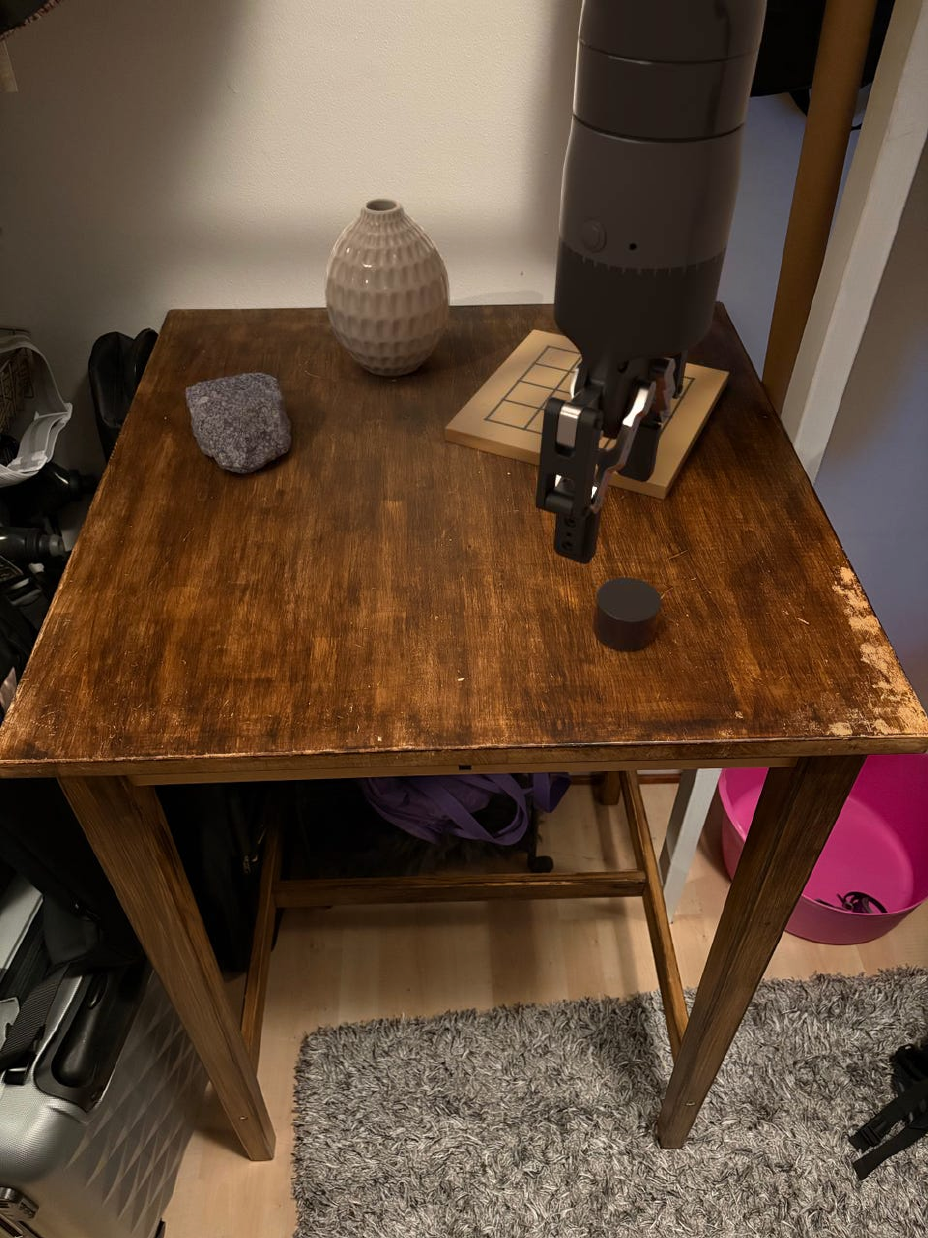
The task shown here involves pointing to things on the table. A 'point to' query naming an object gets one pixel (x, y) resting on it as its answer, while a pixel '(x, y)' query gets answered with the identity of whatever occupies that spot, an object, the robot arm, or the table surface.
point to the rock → (240, 420)
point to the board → (544, 369)
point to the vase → (387, 290)
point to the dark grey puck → (626, 614)
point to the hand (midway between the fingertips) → (605, 513)
